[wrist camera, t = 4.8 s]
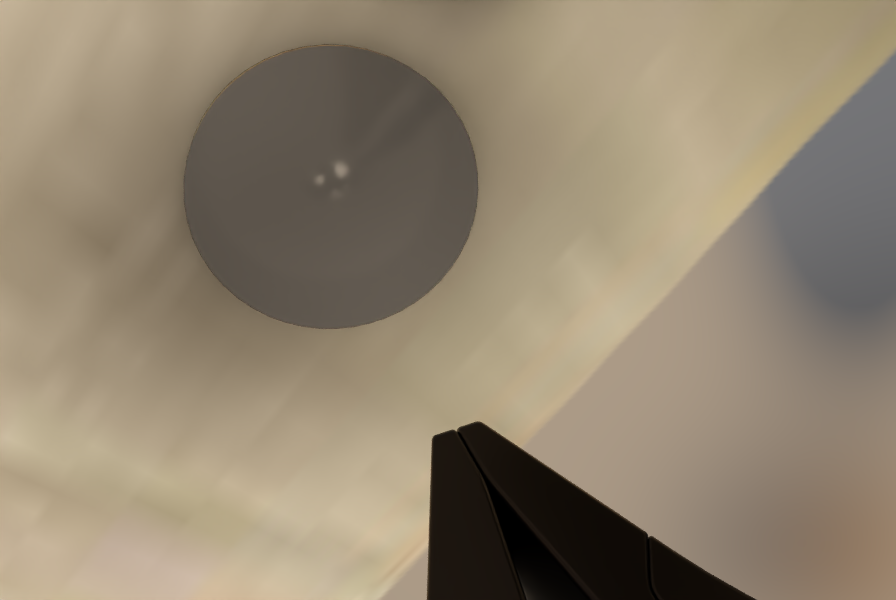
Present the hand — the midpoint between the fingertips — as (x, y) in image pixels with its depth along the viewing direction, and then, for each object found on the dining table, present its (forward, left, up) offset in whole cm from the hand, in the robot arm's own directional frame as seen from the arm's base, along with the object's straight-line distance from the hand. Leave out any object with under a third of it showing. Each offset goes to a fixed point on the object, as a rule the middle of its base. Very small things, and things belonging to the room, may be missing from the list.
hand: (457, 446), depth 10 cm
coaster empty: (0, 0, -13) cm, 13 cm away
